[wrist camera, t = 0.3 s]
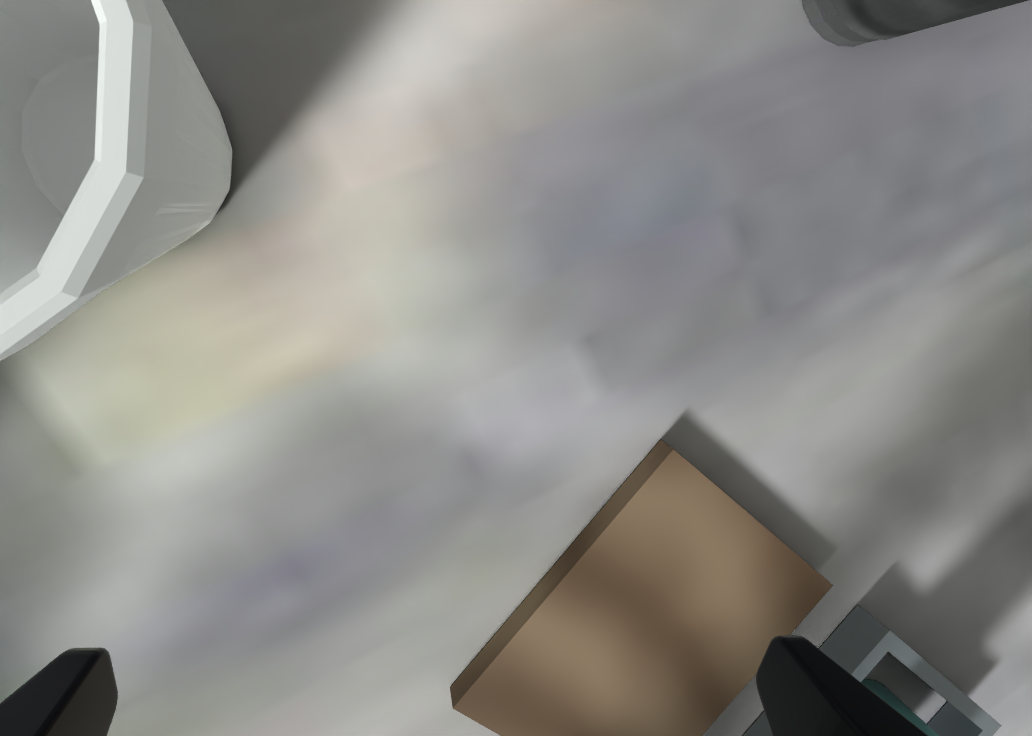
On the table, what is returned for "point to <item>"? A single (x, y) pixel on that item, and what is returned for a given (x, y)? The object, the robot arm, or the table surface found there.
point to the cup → (96, 153)
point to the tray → (868, 642)
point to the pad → (643, 616)
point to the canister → (898, 705)
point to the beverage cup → (888, 17)
